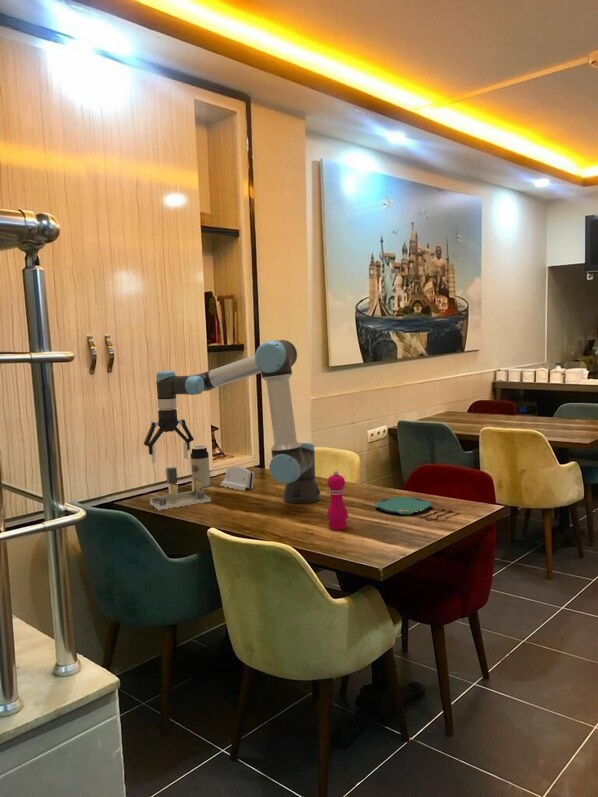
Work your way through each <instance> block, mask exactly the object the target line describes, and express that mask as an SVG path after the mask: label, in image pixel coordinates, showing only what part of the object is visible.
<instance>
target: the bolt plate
mask: <svg viewBox="0 0 598 797" xmlns="http://www.w3.org/2000/svg"><path fill="white" fill-rule="evenodd" d="M201 484H202V482H201V481H199V479H198V478H195V479H192V478H191V490H189V491H183V492H178V494H175V495H170V494H163V495H158V496H151V497H150V500H149V504H150V505H151V507H153V506H154V507H155V510H157V509H158V510H157V511H163V510H162V509H164V510H169V509H168V508H170V509H173V508H172V507H176V508H180V506H182V507H186V506H185V505H188V506H192V505H191V504H194V505H198V504H197V503H200V504H205V502H206V503H210V502H212V497H210V496H209V495H207V494H205V492H204V491H205V490H204V489H202V488H201ZM154 507H153V508H154Z"/></svg>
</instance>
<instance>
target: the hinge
mask: <svg viewBox="0 0 598 797" xmlns="http://www.w3.org/2000/svg"><path fill="white" fill-rule="evenodd" d="M254 482H255V473H254V472H253V471H252V470H250V469H248V468H246V467H243V466H231V467H228V468H227V469H226V471H225V475H224V478H223V480H222V481H221V482H220V487H222V486H224V487H223V488H227V487H229V489H232V488H233V490H237V489H238V491H242V490H243V492H245V491H246V489H251V490H253V489H254ZM252 488H253V489H252Z"/></svg>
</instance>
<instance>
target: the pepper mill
mask: <svg viewBox="0 0 598 797" xmlns="http://www.w3.org/2000/svg"><path fill="white" fill-rule="evenodd" d="M332 474H333V475H330V476H329V477H328V478H327V483H326V484H327V487H328V488H329V489H328V491H329V492H328V493H329V494H330V503H329V506H328V508H327V510H326V519H328V521H329V522H328V528H330V530H331V529H336V530H335V531H339V530H338V529H343V530H345V529H344V528H346V527H347V528H348V524H347V523H348V522H347V521H346V520H347V519H348V518H349V515H348V509H347V507H346V505H345V504H344V499H343V494H344V493H345V489H344V487H345V485H346V481H345V478H344V476H342V475H341V474H339V471H338V470H336V469H334V471H333V473H332ZM347 528H346V529H347Z"/></svg>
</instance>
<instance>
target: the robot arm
mask: <svg viewBox="0 0 598 797" xmlns="http://www.w3.org/2000/svg"><path fill="white" fill-rule="evenodd" d="M297 359H298V351H297V348H296V347H295V345H294V344H293V342H291V341H289V340H286V339H285V340H284V339H277V340H275V339H274V340H273V339H272V340H267V341H264V342H263V343H261V344H260V345H259V346H258V348H257V349H256V350H255V354H254V355H251V356H249V357H245V358H242V359H239V360H236V361H234V362H231V363H228V364H225V365H222V366H219V367H216V368H214V369H211V370H207V371H205V372H204V371H203V372H201V373H197V374H191V375H176V372H175V371H174V370H160V371H157V373H155V374H156V376H155V377H156V380H155V384H156V395H157V409H158V410H157V414H158V416H157V418H158V420H157V422H155V421H151V422H150V427H149V430H148V433H147V434H146V437H145V439H144V441H143V445H144V447H145V446H146V447H148V454H149V455H151V462H152V464H156V448H155V446H154V445H155V443H156V442H157V441H158V439H159V438H160V437H161V435H162V434H163V433H169V432H175V433H177V436H179V437H180V438H181V439H182V440H183V441H184V442H183V458H184V459H185V460H189V454H188V452H189V451H190V449H191V446H190V443H191V442H192V441H193V442H194V440H195V438H194V436H193V435H192V433H191V431H190V430H189V428H188V426H187V425H186V424H187V423H186V420H185V419H183V418H181V419H179V420H178V410H177V406H178V405H177V395H191V396H195V395H201V394H202V393H203V392H208V391H212V390H213V389H215V388H218V387H222V386H224V385H227V384H230V383H233V382H237V381H241V380H243V379H246V378H250V377H252V376H256V375H258V374H260V375H261V379H262V380H263V381H265V382H266V383H265V384H266V387H267V396H268V404H269V411H270V419H271V427H272V435H273V441H274V442H273V446H272V447H271V449H270V450H271V457H272V458H271V459H270V462H269V467H268V468H269V472H270V475H271V477H272V478H273V479H274V480H275V481H277V482H278V483H281V484H285V487H284V491H283V494H282V497H283V498H282V499H283V501H284V502H286V503H288V504H289V503H290V504H297V505H298V504H309V503H315V502H318V501H320V500H321V491H320V488H319V485H318V482H317V480H316V458H315V457H316V456H315V455H316V454H315V453H316V451H315V445H314V443H311V442H299V441H298V440H297V432H296V425H295V419H294V418H295V416H294V408H293V402H292V394H291V387H290V386H291V385H290V378H291V376H292V375H293V370H292V367H293V366H294V365H295V363H296V362H297ZM178 425H180V426H181V427H182V429H183V431H184V433H185V434H186V435H185V434H184V433H183V432H181V430H180V429H179V428H178V427H177V426H178ZM157 426H158V427H159V428H158V429H157V431H156V433H155V432H154V431H155V429H156V428H157ZM154 433H155V435H153V434H154Z"/></svg>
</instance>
